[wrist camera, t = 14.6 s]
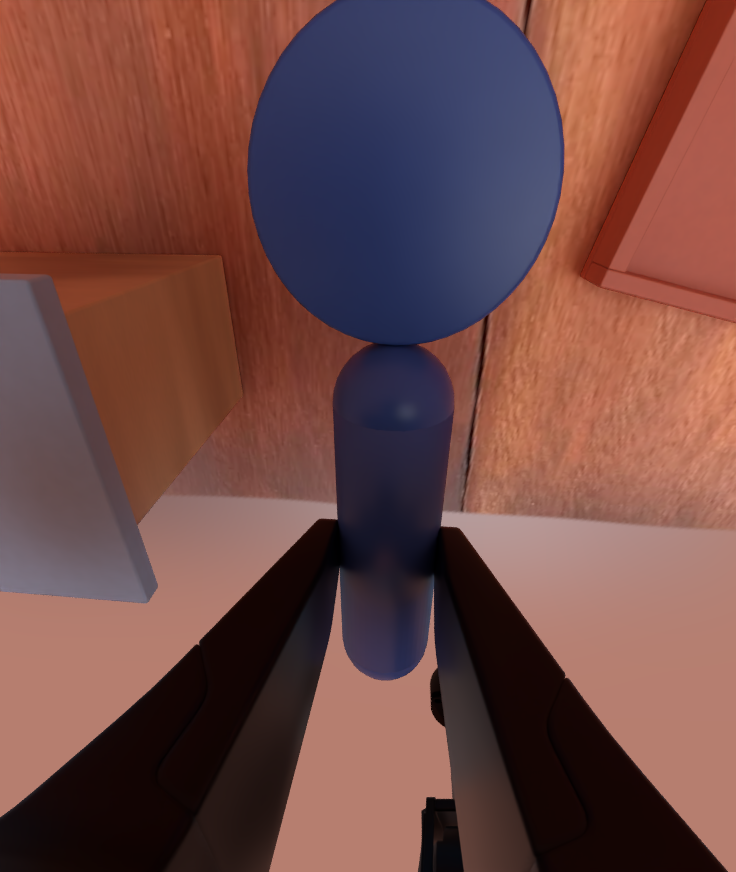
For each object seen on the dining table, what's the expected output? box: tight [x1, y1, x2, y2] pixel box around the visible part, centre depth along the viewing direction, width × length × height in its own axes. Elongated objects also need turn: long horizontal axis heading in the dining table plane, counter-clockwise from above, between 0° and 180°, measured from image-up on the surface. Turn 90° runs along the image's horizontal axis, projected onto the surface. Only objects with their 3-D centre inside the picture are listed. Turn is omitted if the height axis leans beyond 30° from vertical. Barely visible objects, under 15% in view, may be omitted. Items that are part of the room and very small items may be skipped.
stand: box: [0, 252, 243, 525], centre depth 15 cm, size 10×6×10 cm, turn 90°
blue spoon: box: [247, 0, 564, 680], centre depth 8 cm, size 12×4×2 cm, turn 0°
